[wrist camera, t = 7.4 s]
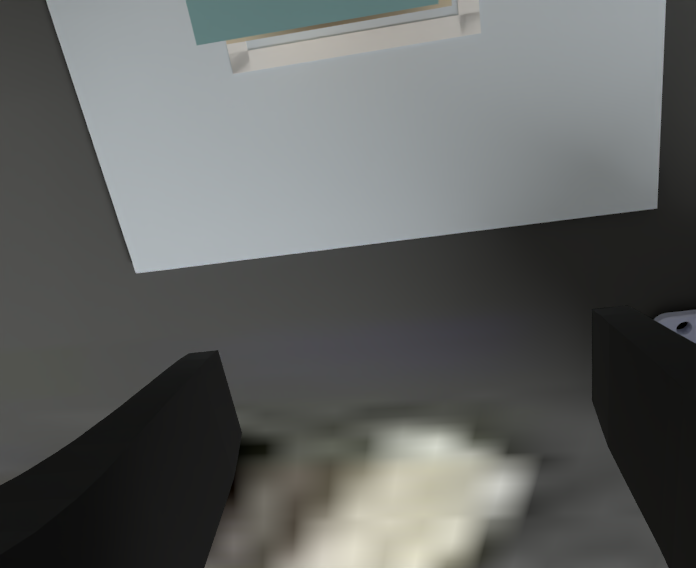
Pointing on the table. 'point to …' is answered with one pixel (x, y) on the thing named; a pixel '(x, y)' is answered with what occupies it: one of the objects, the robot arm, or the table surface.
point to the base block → (342, 22)
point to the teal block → (279, 15)
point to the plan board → (365, 123)
